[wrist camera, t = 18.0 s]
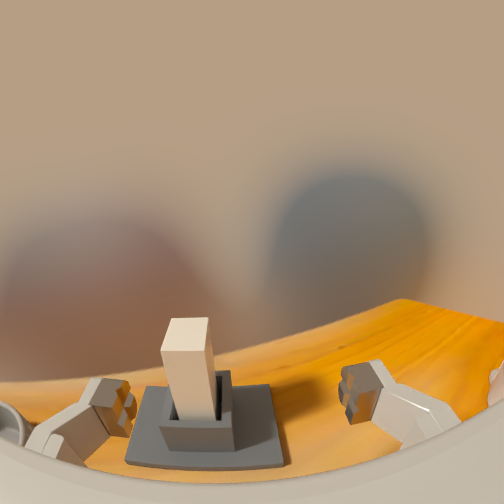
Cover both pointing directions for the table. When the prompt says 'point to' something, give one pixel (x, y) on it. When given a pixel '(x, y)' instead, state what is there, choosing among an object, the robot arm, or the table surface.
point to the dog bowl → (14, 425)
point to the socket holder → (208, 432)
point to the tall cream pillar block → (191, 369)
